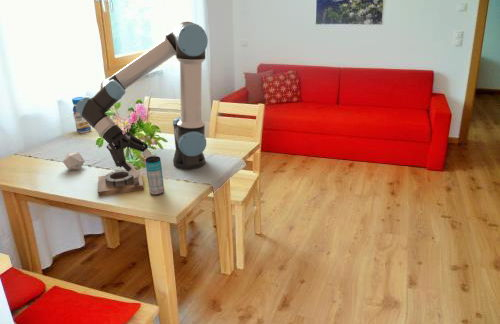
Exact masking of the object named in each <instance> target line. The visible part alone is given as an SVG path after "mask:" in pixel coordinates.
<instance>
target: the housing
mask: <svg viewBox="0 0 500 324" xmlns="http://www.w3.org/2000/svg"><path fill="white" fill-rule="evenodd" d="M133 167H134V168H135V169H136V170H137V171H138V172H139V173H140V174H139V175H138V176H137V177H136V178H134V177H133V175H132V174H131V173H130V172H128V171H127V170H126V169H119V170H114V171H111V172H109V173H107V174H105V175H98V177H97V178H98V179H97V196H98V197H105V196H109V195H117V194H123V193H130V192H137V191H142V190H144V183H143V178H142V177H143V176H142V172H141V170H138V167H137V166H133Z"/></svg>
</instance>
